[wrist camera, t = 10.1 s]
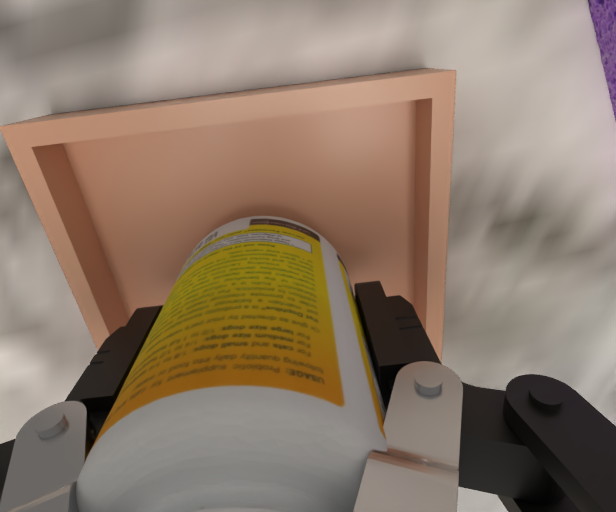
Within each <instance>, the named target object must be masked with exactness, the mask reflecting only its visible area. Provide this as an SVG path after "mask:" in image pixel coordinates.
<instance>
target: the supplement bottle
mask: <svg viewBox="0 0 616 512" xmlns="http://www.w3.org/2000/svg"><path fill="white" fill-rule="evenodd" d="M385 418H386V410H385V406H384V403H383V399H382V395H381V392H380V388H379V385H378V381H377V377H376V374H375V370H374V366H373V363H372V359H371V355H370V351H369V347H368V343H367V339H366V336H365V333H364V329H363V325H362V321H361V318H360V314H359V311H358V307H357V304H356V300H355V297H354V293H353V290H352V287H351V283H350V279H349V276H348V273H347V270H346V267H345V265H344V263H343V261H342V259H341V258H340V256H339V254H338V253H337V251H336V250H335V249H334V247H333V246H332V245H331V244H330V243H329V242H328V241H327V240H326V239H325V238H324V237H323V236H321V235H320V234H319V233H317V232H316V231H314V230H313V229H311V228H309V227H307V226H306V225H303V224H301V223H299V222H296V221H293V220H290V219H286V218H281V217H275V216H252V217H246V218H241V219H238V220H235V221H232V222H229V223H227V224H225V225H222V226H221V227H219V228H217V229H215V230H214V231H212V232H211V233H210V234H208V235H207V236H206V237H205V238H204V239H203V240H201V241H200V243H199V244H198V245H197V246H196V247H195V249H194V250H193V251H192V253H191V254H190V256H189V257H188V259H187V261H186V262H185V264H184V266H183V268H182V270H181V272H180V274H179V276H178V278H177V280H176V282H175V284H174V286H173V288H172V290H171V292H170V294H169V296H168V298H167V300H166V302H165V304H164V306H163V308H162V310H161V312H160V314H159V316H158V318H157V320H156V322H155V324H154V325H153V327H152V329H151V331H150V333H149V335H148V337H147V339H146V341H145V343H144V345H143V347H142V349H141V351H140V353H139V355H138V357H137V359H136V361H135V363H134V365H133V367H132V369H131V371H130V373H129V375H128V377H127V379H126V381H125V383H124V385H123V387H122V389H121V391H120V393H119V395H118V397H117V399H116V401H115V403H114V405H113V407H112V409H111V411H110V413H109V415H108V417H107V419H106V421H105V423H104V425H103V427H102V429H101V431H100V433H99V435H98V437H97V439H96V441H95V443H94V445H93V446H92V448H91V450H90V452H89V454H88V456H87V459H86V461H85V463H84V466H83V468H82V470H81V472H80V475H79V477H78V480H77V483H76V498H77V505H78V509H79V512H353V510H354V507H355V503H356V499H357V496H358V492H359V488H360V485H361V481H362V477H363V474H364V470H365V467H366V463H367V460H368V456H369V454H370V452H371V450H372V449H378V450H382V451H386V452H387V444H386V436H385V432H384V429H383V425H384V421H385Z"/></svg>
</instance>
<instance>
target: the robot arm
mask: <svg viewBox="0 0 616 512" xmlns="http://www.w3.org/2000/svg"><path fill="white" fill-rule="evenodd" d="M354 290H355V300H356V304H357V307H358V311H359V314H360V318H361V321H362V325H363V329H364V333H365V336H366V339H367V343H368V347H369V351H370V355H371V359H372V363H373V366H374V370H375V374H376V377H377V381H378V385H379V388H380V392H381V395H382V399H383V403H384V406H385V410H386V418H385V421H384V425H383V429H384V432H385V436H386V444H387V452H386V451H382V450H378V449H372V450H371V452H370V454H369V456H368V460H367V463H366V467H365V470H364V474H363V477H362V481H361V485H360V488H359V492H358V496H357V499H356V503H355V507H354V510H353V512H457V499H458V486H459V487H464V488H468V489H473V490H478V491H482V492H487V493H492V494H496V495H498V497H499V498H500V500H501V501H502V503H503V504H504V506H505V507H506V509H507V510H508V512H616V426H615V425H614V424H612V423H611V422H610V421H609V420H608V419H607V418H606V417H604V416H603V415H602V414H601V413H600V412H599V411H598V410H596V409H595V408H594V407H593V406H592V405H591V404H590V403H589V402H587V401H586V400H585V399H584V398H583V397H582V396H581V395H579V394H578V393H577V392H576V391H575V390H574V389H572V388H571V387H570V386H568V385H566V384H565V383H563V382H561V381H559V380H556V379H554V378H551V377H547V376H543V375H534V374H529V375H521V376H518V377H516V378H514V379H512V380H511V381H510V382H509V383H508V385H507V387H506V391H502V390H495V389H487V388H480V387H475V386H472V385H468V384H466V383H463V382H461V380H460V378H459V377H458V375H457V374H456V373H455V372H454V371H452V370H451V369H449V368H448V367H446V366H444V365H442V364H441V362H440V360H439V358H438V356H437V354H436V352H435V350H434V348H433V346H432V344H431V342H430V340H429V338H428V336H427V333H426V331H425V329H424V328H423V325H422V323H421V321H420V319H419V318H418V315H417V313H416V311H415V309H414V307H413V305H412V304H411V303H410V302H408V301H407V300H406V299H404V298H403V297H402V296H400V295H397V296H388V297H386V295H385V292H384V290H383V287H382V285H381V282H380V281H370V282H362V283H355V285H354ZM163 306H164V305H159V306H150V307H142V308H137V309H136V310H135V311H134V313H133V315H132V316H131V318H130V319H129V321H128V323H127V324H126V326H123V327H119V328H118V329H117V330H116V331H115V332H113V333H112V334H111V335H110V336H109V337H107V338H106V339H105V341H104V342H103V344H102V345H101V347H100V348H99V350H98V351H97V354H95V356H94V357H93V359H92V360H91V362H90V365H88V367H87V368H86V370H85V371H84V373H83V374H82V376H81V377H80V379H79V380H78V382H77V383H76V385H75V386H74V388H73V389H72V391H71V392H70V394H69V395H68V397H67V398H66V400H65V401H64V402H60V403H57V404H54V405H52V406H50V407H48V408H46V409H44V410H42V411H40V412H39V413H37V414H36V415H35V416H33V417H32V418H31V419H30V420H28V421H27V422H26V423H25V424H24V425H23V427H22V428H21V429H20V431H19V432H18V434H17V436H16V439H13V440H11V441H8V442H5V443H2V444H0V512H79V509H78V505H77V498H76V483H77V480H78V477H79V475H80V472H81V470H82V468H83V466H84V463H85V461H86V459H87V456H88V454H89V452H90V450H91V448H92V446H93V445H94V443H95V441H96V439H97V437H98V435H99V433H100V431H101V429H102V427H103V425H104V423H105V421H106V419H107V417H108V415H109V413H110V411H111V409H112V407H113V405H114V403H115V401H116V399H117V397H118V395H119V393H120V391H121V389H122V387H123V385H124V383H125V381H126V379H127V377H128V375H129V373H130V371H131V369H132V367H133V365H134V363H135V361H136V359H137V357H138V355H139V353H140V351H141V349H142V347H143V345H144V343H145V341H146V339H147V337H148V335H149V333H150V331H151V329H152V327H153V325H154V324H155V322H156V320H157V318H158V316H159V314H160V312H161V310H162V308H163Z"/></svg>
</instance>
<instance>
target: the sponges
mask: <svg viewBox="0 0 616 512" xmlns="http://www.w3.org/2000/svg"><path fill="white" fill-rule="evenodd" d="M589 7H590V13H591V17H592V20H593V23H594V28H595V32H596V36H597V42H598V44H599V46H600V52H601V61H602V64H603V67H604V71H605V76H606V80H607V84H608V88H609V93H610V99H611V102H612V106H613V111H614V116H615V120H616V0H589Z"/></svg>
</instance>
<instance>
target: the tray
mask: <svg viewBox="0 0 616 512" xmlns="http://www.w3.org/2000/svg"><path fill="white" fill-rule="evenodd" d="M455 85H456V70H445V69H431V68H424V69H416V70H408V71H400V72H392V73H383V74H375V75H367V76H359V77H351V78H343V79H335V80H327V81H319V82H310V83H302V84H294V85H286V86H278V87H270V88H262V89H254V90H245V91H237V92H229V93H221V94H213V95H205V96H197V97H189V98H181V99H172V100H164V101H156V102H148V103H140V104H132V105H124V106H116V107H108V108H99V109H91V110H83V111H75V112H67V113H59V114H51V115H46V116H42V117H38V118H33V119H29V120H25V121H21V122H16V123H12V124H8V125H4V126H0V130H1V132H2V134H3V137H4V139H5V141H6V143H7V146H8V148H9V150H10V152H11V155H12V157H13V159H14V161H15V164H16V166H17V168H18V171H19V173H20V175H21V177H22V180H23V182H24V184H25V186H26V189H27V191H28V193H29V195H30V198H31V200H32V202H33V204H34V207H35V209H36V211H37V214H38V216H39V218H40V220H41V223H42V225H43V227H44V229H45V232H46V234H47V236H48V238H49V241H50V243H51V245H52V247H53V250H54V252H55V254H56V257H57V259H58V261H59V263H60V266H61V268H62V270H63V272H64V275H65V277H66V279H67V281H68V284H69V286H70V288H71V290H72V293H73V295H74V297H75V299H76V302H77V304H78V306H79V309H80V311H81V313H82V315H83V318H84V320H85V322H86V324H87V327H88V329H89V331H90V333H91V336H92V338H93V340H94V342H95V345H96V347H97V349H98V350H99V348H100V347H101V345H102V344H103V342H104V341H105V339H106V338H107V337H109V336H110V335H111V334H112V333H113V332H115V331H116V330H117V329H118V328H119V327H123V326H126V324H127V323H128V321H129V319H130V318H131V316H132V315H133V313H134V311H135V310H136V309H137V308H142V307H150V306H159V305H164V304H165V302H166V300H167V298H168V296H169V294H170V292H171V290H172V288H173V286H174V284H175V282H176V280H177V278H178V276H179V274H180V272H181V270H182V268H183V266H184V264H185V262H186V261H187V259H188V257H189V256H190V254H191V253H192V251H193V250H194V249H195V247H196V246H197V245H198V244H199V243H200V241H201V240H203V239H204V238H205V237H206V236H207V235H208V234H210V233H211V232H212V231H214V230H215V229H217V228H219V227H221V226H222V225H225V224H227V223H229V222H232V221H235V220H238V219H241V218H246V217H252V216H275V217H281V218H286V219H290V220H293V221H296V222H299V223H301V224H303V225H306V226H307V227H309V228H311V229H313V230H314V231H316V232H317V233H319V234H320V235H321V236H323V237H324V238H325V239H326V240H327V241H328V242H329V243H330V244H331V245H332V246H333V247H334V249H335V250H336V251H337V253H338V254H339V256H340V258H341V259H342V261H343V263H344V265H345V267H346V270H347V273H348V276H349V279H350V283H351V287H352V290H353V293H354V297H355V290H354V285H355V283H362V282H370V281H380V282H381V285H382V287H383V290H384V292H385V295H386V297H388V296H397V295H400V296H402V297H403V298H404V299H406V300H407V301H408V302H410V303H411V304H412V305H413V307H414V309H415V311H416V313H417V315H418V318H419V319H420V321H421V323H422V325H423V328H424V329H425V331H426V333H427V336H428V338H429V340H430V342H431V344H432V346H433V348H434V350H435V352H436V354H437V356H438V358H439V360H440V362H441V358H442V339H443V319H444V300H445V280H446V261H447V241H448V222H449V202H450V183H451V163H452V144H453V124H454V105H455Z"/></svg>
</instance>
